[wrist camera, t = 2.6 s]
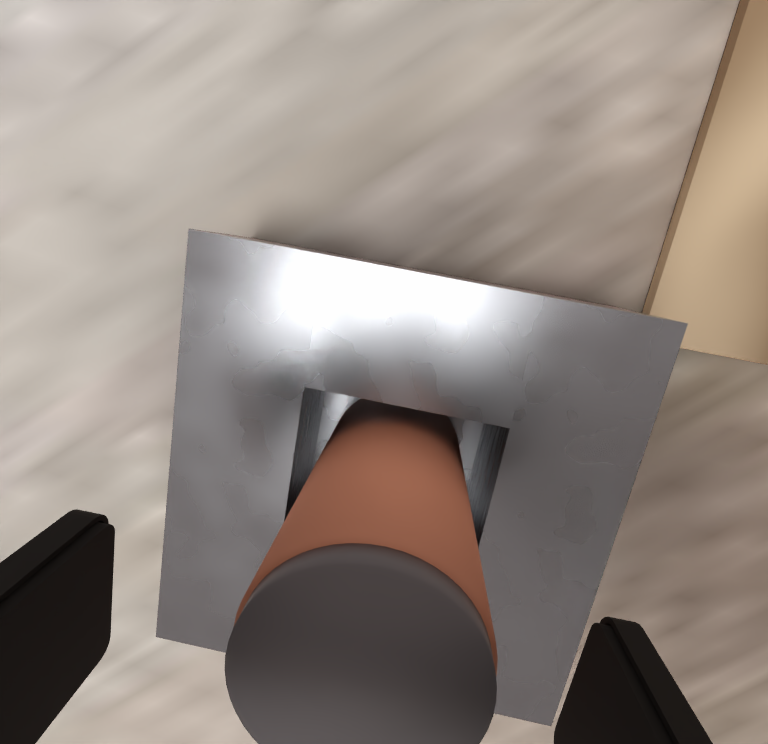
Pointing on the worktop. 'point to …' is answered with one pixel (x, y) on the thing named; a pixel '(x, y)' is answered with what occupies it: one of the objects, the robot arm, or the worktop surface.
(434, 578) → the orange grey-topped cylinder
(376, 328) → the bore housing
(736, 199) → the plate
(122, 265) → the worktop surface
